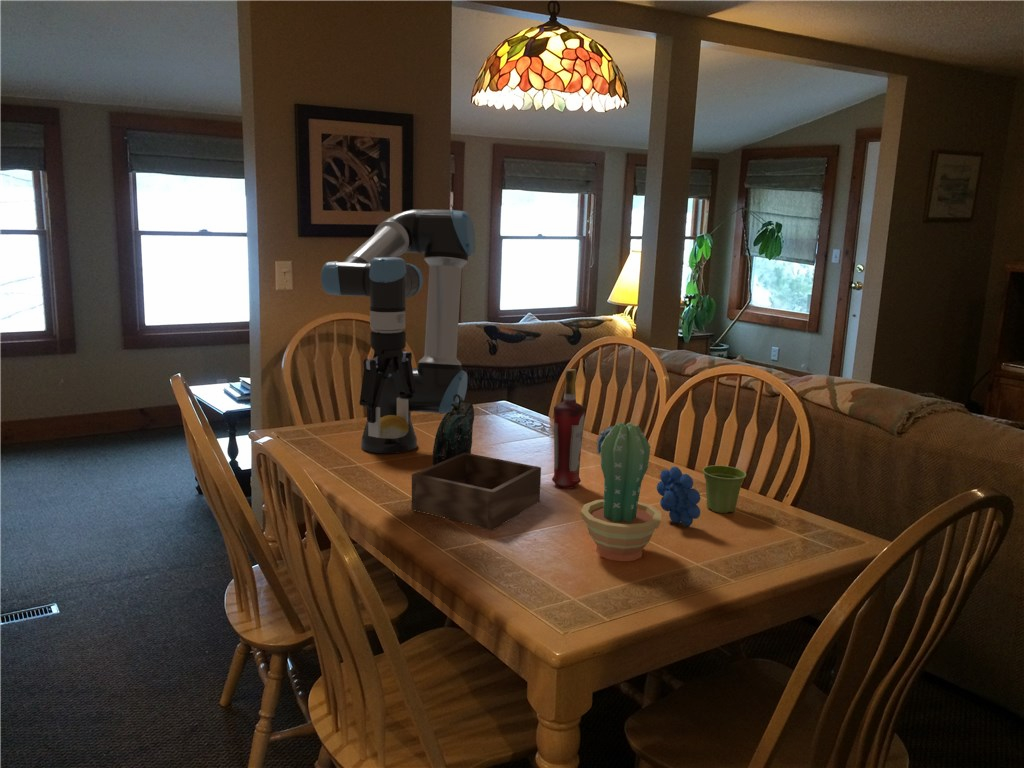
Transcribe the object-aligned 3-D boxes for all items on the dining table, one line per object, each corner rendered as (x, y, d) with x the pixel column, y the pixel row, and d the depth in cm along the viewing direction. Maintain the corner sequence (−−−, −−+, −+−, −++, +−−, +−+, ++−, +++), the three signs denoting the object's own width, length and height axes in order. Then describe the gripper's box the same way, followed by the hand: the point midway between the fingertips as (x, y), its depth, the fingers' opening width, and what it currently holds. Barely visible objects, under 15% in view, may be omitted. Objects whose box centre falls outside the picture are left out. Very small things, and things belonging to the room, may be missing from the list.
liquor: (556, 478, 196) (560, 366, 191) (585, 482, 194) (590, 369, 188) (546, 487, 190) (551, 371, 184) (576, 491, 187) (581, 374, 181)
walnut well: (411, 510, 172) (411, 474, 171) (463, 484, 190) (464, 452, 188) (492, 530, 162) (493, 492, 161) (539, 501, 180) (541, 467, 178)
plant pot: (744, 505, 181) (747, 468, 180) (741, 518, 173) (745, 480, 171) (702, 499, 184) (704, 463, 183) (697, 512, 176) (700, 474, 174)
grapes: (641, 518, 171) (645, 464, 169) (663, 512, 175) (667, 459, 173) (683, 536, 162) (687, 479, 160) (705, 529, 166) (710, 473, 164)
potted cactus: (651, 536, 161) (659, 416, 156) (667, 569, 146) (677, 436, 141) (575, 535, 161) (580, 414, 156) (583, 567, 146) (589, 435, 141)
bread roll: (408, 428, 181) (408, 410, 181) (408, 439, 173) (408, 421, 172) (371, 428, 180) (371, 411, 179) (369, 439, 172) (369, 421, 171)
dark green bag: (455, 463, 207) (457, 387, 203) (479, 465, 205) (481, 389, 201) (427, 486, 188) (427, 403, 184) (453, 489, 186) (454, 405, 182)
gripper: (368, 338, 161) (369, 445, 165) (432, 326, 179) (431, 423, 184) (340, 334, 164) (342, 440, 169) (405, 323, 183) (405, 418, 188)
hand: (388, 431), depth 176 cm, fingers closed on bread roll, 9 cm apart
